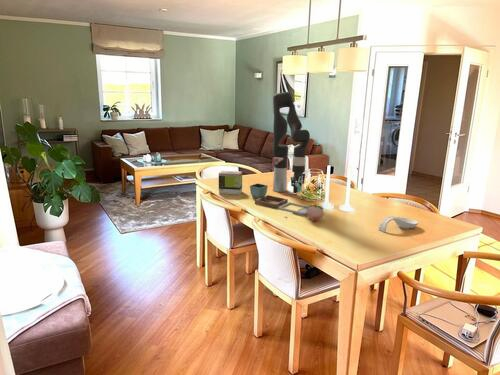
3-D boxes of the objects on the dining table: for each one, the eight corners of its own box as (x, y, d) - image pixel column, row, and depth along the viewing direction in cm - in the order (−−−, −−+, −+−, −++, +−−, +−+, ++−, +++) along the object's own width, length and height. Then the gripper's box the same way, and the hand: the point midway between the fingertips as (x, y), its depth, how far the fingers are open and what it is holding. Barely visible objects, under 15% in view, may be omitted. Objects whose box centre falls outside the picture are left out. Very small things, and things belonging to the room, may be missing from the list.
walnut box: (267, 199, 243) (268, 195, 243) (287, 204, 235) (287, 199, 234) (254, 205, 232) (254, 200, 231) (275, 209, 223) (275, 204, 222)
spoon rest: (404, 222, 208) (405, 210, 206) (422, 229, 198) (424, 216, 196) (373, 228, 197) (374, 215, 195) (390, 236, 187) (392, 222, 185)
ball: (295, 191, 224) (296, 183, 223) (302, 192, 221) (303, 184, 220) (291, 192, 220) (291, 184, 219) (298, 194, 217) (299, 185, 216)
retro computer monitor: (242, 191, 262) (242, 171, 259) (239, 195, 253) (239, 174, 249) (221, 190, 265) (221, 169, 261) (218, 193, 255) (218, 172, 252)
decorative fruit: (323, 219, 208) (325, 202, 206) (322, 224, 201) (323, 206, 198) (307, 217, 211) (308, 200, 208) (305, 222, 203) (306, 204, 201)
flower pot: (259, 201, 240) (260, 187, 238) (249, 198, 245) (249, 185, 243) (267, 198, 247) (268, 185, 245) (257, 196, 252) (257, 183, 250)
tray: (289, 204, 234) (289, 202, 233) (315, 210, 224) (315, 207, 223) (277, 210, 223) (277, 207, 222) (304, 216, 213) (304, 213, 212)
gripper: (299, 161, 224) (297, 188, 228) (287, 164, 213) (285, 193, 217) (310, 163, 220) (308, 190, 224) (298, 166, 208) (297, 195, 213)
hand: (297, 191), depth 220 cm, fingers closed on ball, 5 cm apart
